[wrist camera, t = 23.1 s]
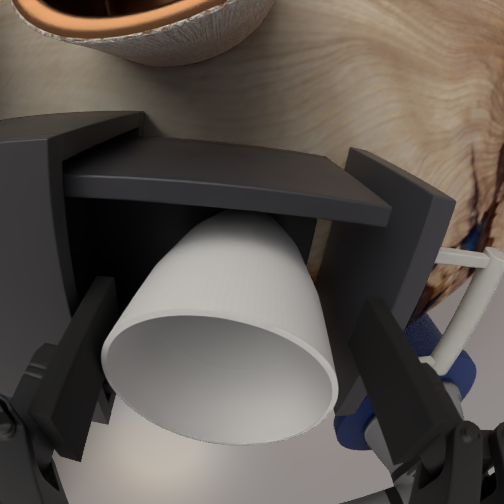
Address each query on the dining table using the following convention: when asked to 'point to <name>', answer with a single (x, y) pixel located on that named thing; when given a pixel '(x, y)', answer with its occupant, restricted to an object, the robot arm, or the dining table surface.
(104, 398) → the cabinet
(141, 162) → the drawer
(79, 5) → the planter
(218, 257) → the cup
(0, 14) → the dining table surface
